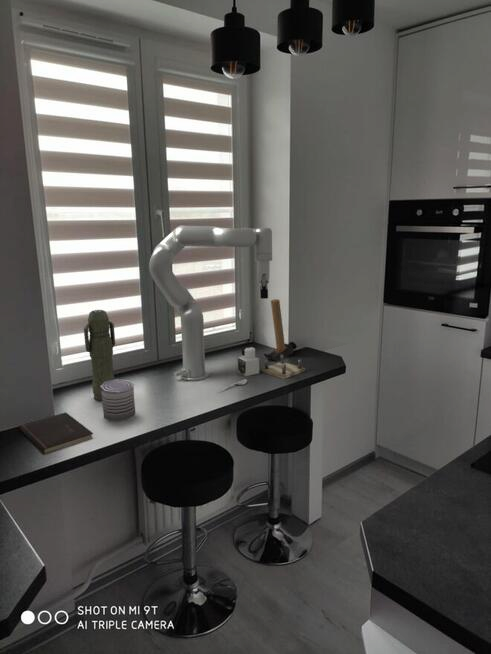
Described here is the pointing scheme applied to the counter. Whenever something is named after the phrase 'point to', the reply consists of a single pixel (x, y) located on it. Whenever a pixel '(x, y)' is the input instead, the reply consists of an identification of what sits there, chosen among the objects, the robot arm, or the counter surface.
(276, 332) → the hammer
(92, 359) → the dark green tall piece
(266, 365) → the peg stand
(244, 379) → the spoon
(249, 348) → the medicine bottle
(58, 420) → the hardcover book
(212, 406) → the counter surface
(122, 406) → the can
